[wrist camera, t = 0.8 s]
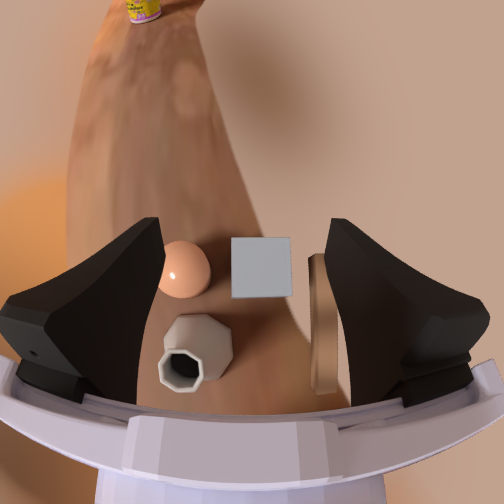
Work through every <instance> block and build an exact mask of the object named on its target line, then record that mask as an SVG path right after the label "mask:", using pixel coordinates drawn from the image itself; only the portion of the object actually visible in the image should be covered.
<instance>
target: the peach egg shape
mask: <svg viewBox="0 0 504 504" xmlns="http://www.w3.org/2000/svg"><path fill="white" fill-rule="evenodd" d="M164 249H165V254H166V259H165V264H164V269H163V273H162V277H161V280H160V283H159V288H160V289H161V290H162V291H163V292H165V293H166V294H168V295H170V296H172V297H177V298H185V299H190V298H195V297H197V296H199V295H201V294H202V293H203V292H204V291H205V290H206V289H207V288H208V286H209V284H210V281H211V275H212V273H211V267H210V264H209V262H208V260H207V258H206V256H205V254H204V253H203V251H202V250H201V249H200V248H199V247H198V246H196V245H195V244H193V243H191V242H187V241H175V242H172V243H169V244H168V245H166V246H164Z"/></svg>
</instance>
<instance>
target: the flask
mask: <svg viewBox="0 0 504 504" xmlns="http://www.w3.org/2000/svg"><path fill="white" fill-rule="evenodd" d="M164 348H165V354H164V355H163V357H162V358H161V360H160V362H159V363H158V368H159V375H160V382H161V383H163V384H164V385H166V386H167V387H169V388H171V389H172V390H174V391H175V392H196V390H197V389H198V387H199V386H200V384H201V383H202V381H203V380H219V378H220V377H221V375H222V374H223V372H224V371H225V369H226V368H227V366H228V365H229V363H230V362H231V360H232V359H233V348H232V337H231V329H229V328H228V327H226V326H224V325H223V324H221V323H220V322H218V321H217V320H215V319H213V318H212V317H210V316H209V315H207V314H194V315H178V316H177V318H176V319H175V321H174V322H173V324H172V325H171V327H170V329H169V330H168V332H167V333H166V335H165V337H164Z"/></svg>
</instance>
